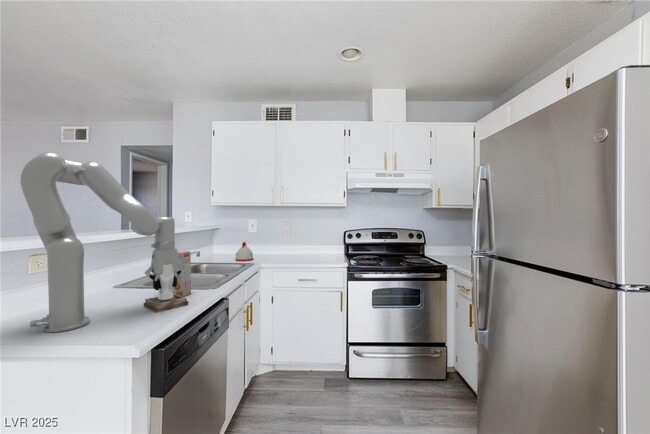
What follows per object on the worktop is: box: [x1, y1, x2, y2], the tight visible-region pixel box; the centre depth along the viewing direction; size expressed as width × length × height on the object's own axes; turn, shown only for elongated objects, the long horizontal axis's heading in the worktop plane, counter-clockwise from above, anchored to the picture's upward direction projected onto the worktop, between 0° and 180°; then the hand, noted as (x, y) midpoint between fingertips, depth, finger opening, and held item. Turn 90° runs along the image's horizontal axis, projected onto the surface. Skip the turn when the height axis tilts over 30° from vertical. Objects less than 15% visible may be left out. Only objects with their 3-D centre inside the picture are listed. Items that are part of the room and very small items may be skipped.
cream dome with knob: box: [235, 241, 254, 262], centre depth 249 cm, size 14×14×15 cm
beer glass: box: [157, 264, 174, 301], centre depth 129 cm, size 7×7×15 cm
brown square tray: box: [143, 293, 189, 314], centre depth 129 cm, size 13×13×3 cm
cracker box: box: [172, 250, 192, 297], centre depth 146 cm, size 14×6×21 cm, turn 72°
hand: (165, 287), depth 129 cm, fingers closed on beer glass, 6 cm apart
